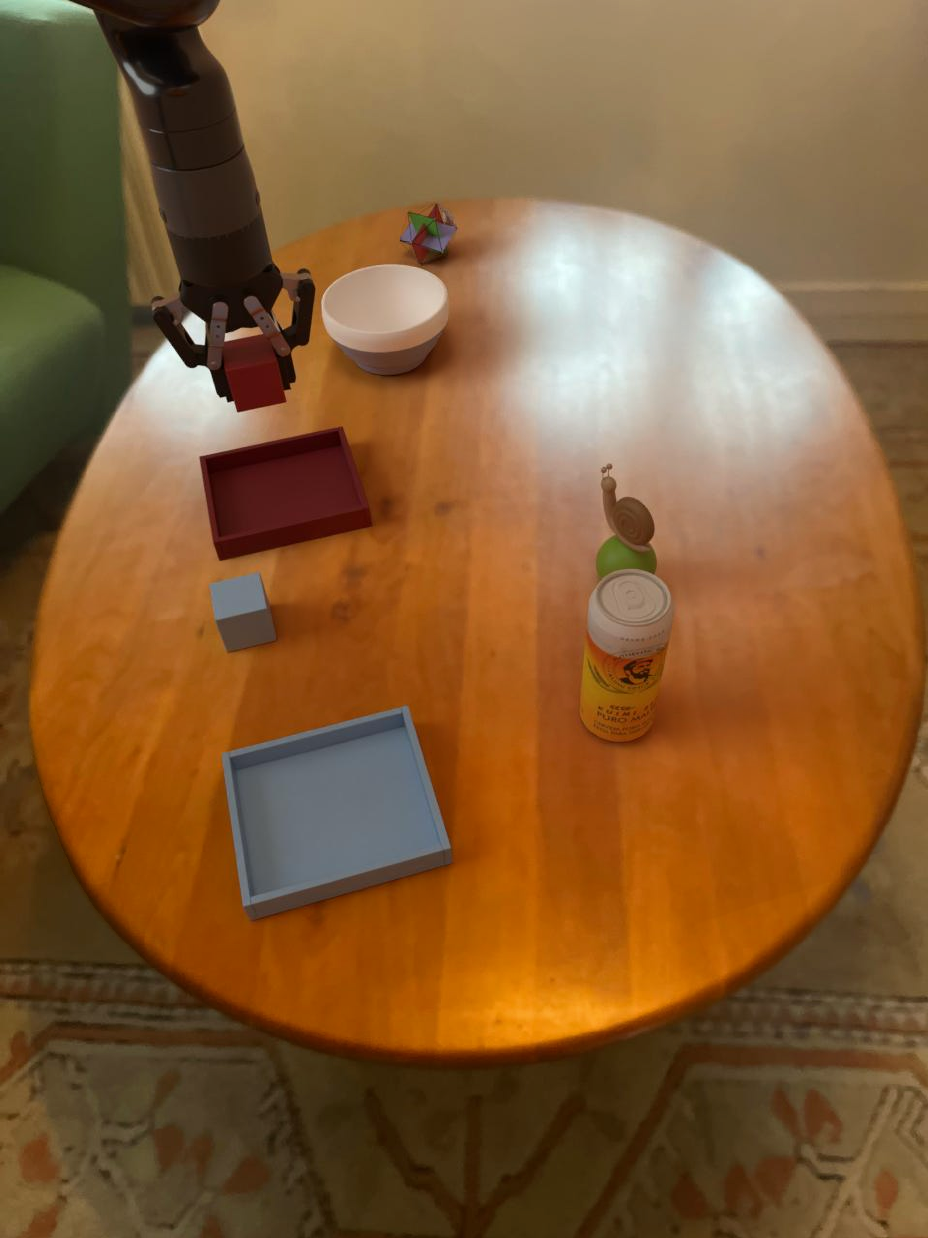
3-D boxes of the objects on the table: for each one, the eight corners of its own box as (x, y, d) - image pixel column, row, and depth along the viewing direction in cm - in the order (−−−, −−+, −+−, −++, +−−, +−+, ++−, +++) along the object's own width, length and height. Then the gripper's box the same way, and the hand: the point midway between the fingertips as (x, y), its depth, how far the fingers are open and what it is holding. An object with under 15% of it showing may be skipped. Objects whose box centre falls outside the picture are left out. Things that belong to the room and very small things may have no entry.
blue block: (227, 652, 85) (214, 620, 81) (221, 616, 88) (209, 583, 84) (277, 640, 85) (267, 607, 82) (269, 604, 88) (259, 571, 85)
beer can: (594, 755, 76) (608, 638, 65) (568, 696, 80) (577, 576, 69) (665, 736, 77) (691, 616, 66) (635, 678, 81) (655, 556, 70)
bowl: (440, 396, 107) (436, 337, 102) (316, 388, 109) (305, 330, 103) (461, 323, 116) (458, 265, 111) (346, 317, 118) (337, 260, 113)
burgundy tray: (219, 560, 92) (213, 542, 90) (205, 474, 100) (199, 456, 98) (372, 525, 94) (369, 507, 92) (345, 444, 103) (342, 425, 101)
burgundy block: (237, 413, 85) (225, 370, 81) (231, 384, 88) (219, 341, 84) (287, 402, 86) (277, 360, 82) (279, 374, 88) (269, 331, 85)
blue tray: (250, 921, 69) (242, 907, 67) (228, 769, 77) (221, 753, 75) (453, 863, 71) (451, 847, 69) (410, 722, 79) (407, 704, 77)
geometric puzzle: (428, 266, 121) (446, 201, 119) (384, 253, 124) (400, 189, 121) (454, 276, 128) (471, 214, 125) (411, 263, 130) (427, 203, 128)
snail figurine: (615, 547, 91) (626, 450, 82) (665, 585, 88) (683, 487, 78) (574, 575, 89) (581, 478, 80) (624, 614, 86) (637, 518, 76)
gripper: (294, 171, 77) (327, 352, 90) (115, 202, 75) (175, 383, 88) (311, 214, 72) (342, 399, 85) (120, 249, 70) (182, 432, 83)
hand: (257, 390), depth 86 cm, fingers closed on burgundy block, 4 cm apart
